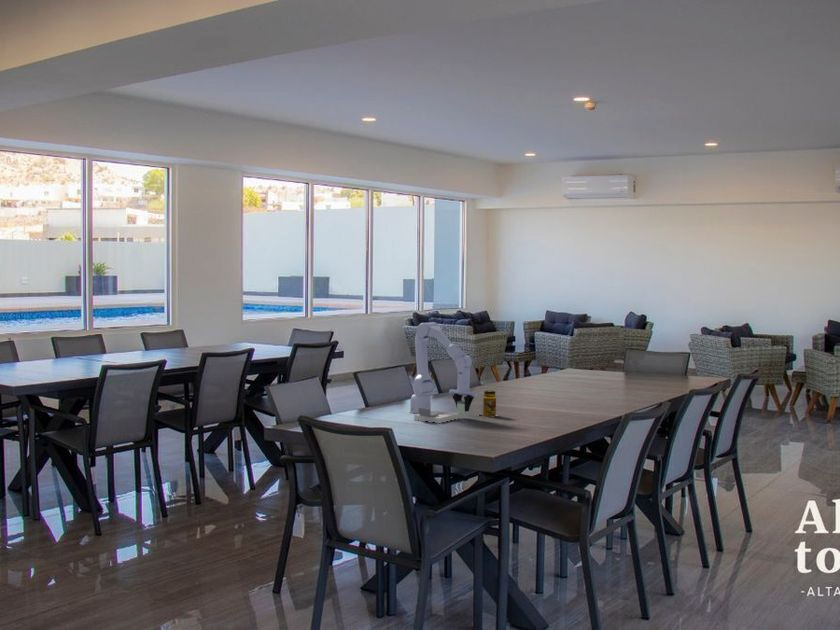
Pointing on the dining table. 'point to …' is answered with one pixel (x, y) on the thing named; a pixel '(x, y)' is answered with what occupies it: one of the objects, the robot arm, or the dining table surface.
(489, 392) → the yellow metal cylinder
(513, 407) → the dining table surface
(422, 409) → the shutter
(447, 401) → the dining table surface
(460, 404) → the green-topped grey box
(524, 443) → the dining table surface
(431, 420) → the socket
